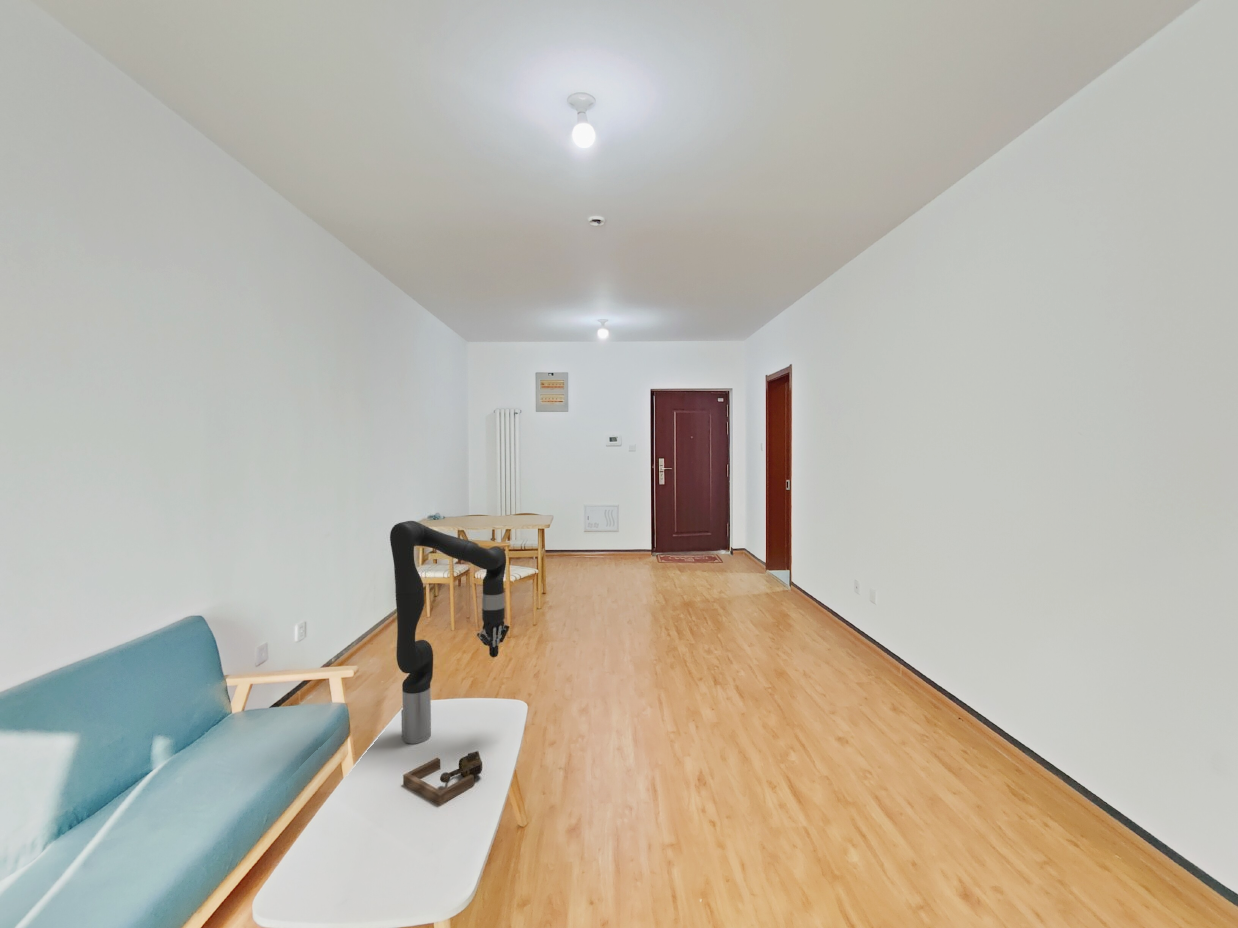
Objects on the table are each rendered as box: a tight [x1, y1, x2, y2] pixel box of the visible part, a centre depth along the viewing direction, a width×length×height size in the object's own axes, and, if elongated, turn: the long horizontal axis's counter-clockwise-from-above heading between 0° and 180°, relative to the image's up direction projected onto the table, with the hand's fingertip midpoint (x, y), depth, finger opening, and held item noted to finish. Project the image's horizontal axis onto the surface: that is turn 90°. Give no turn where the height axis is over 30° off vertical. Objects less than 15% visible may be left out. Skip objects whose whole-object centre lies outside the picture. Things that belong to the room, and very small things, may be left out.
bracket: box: [402, 757, 475, 806], centre depth 173 cm, size 18×12×3 cm
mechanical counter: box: [439, 750, 483, 784], centre depth 175 cm, size 7×13×10 cm
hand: (493, 656), depth 199 cm, fingers closed
